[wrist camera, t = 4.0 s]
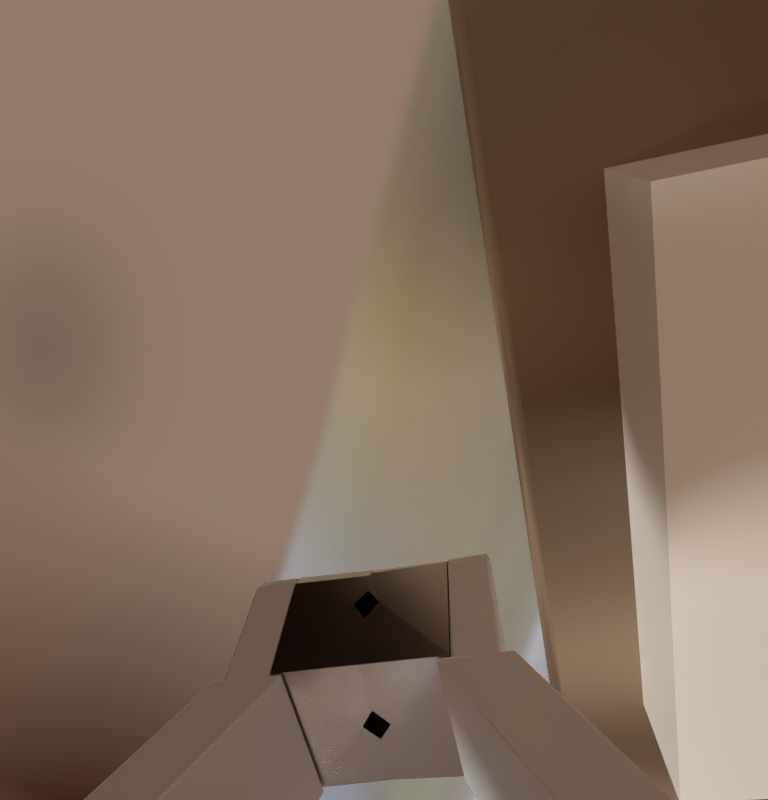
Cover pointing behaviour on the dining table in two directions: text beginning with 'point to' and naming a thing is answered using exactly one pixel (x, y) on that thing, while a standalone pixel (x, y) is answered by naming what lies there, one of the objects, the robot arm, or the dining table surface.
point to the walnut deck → (587, 281)
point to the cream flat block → (698, 452)
